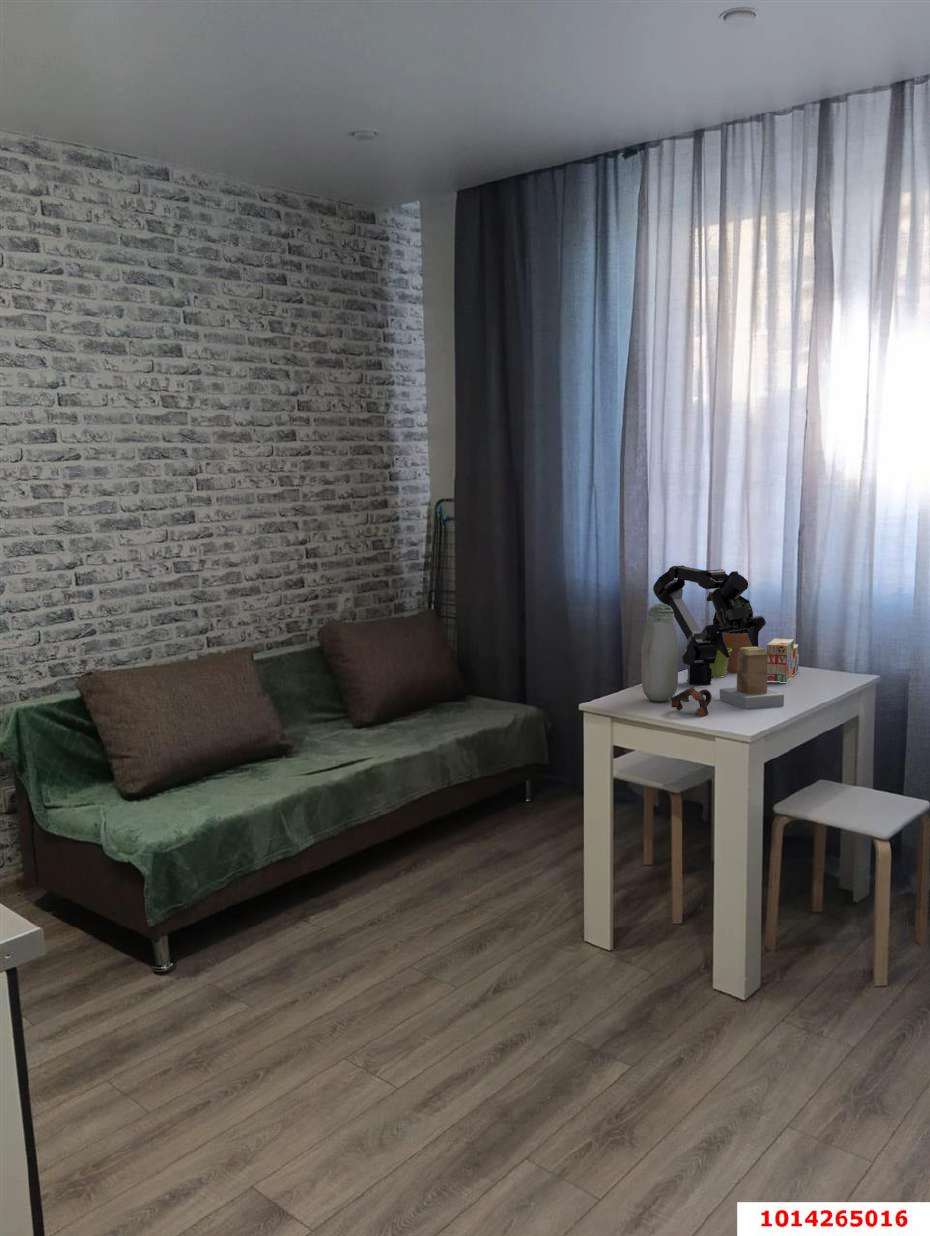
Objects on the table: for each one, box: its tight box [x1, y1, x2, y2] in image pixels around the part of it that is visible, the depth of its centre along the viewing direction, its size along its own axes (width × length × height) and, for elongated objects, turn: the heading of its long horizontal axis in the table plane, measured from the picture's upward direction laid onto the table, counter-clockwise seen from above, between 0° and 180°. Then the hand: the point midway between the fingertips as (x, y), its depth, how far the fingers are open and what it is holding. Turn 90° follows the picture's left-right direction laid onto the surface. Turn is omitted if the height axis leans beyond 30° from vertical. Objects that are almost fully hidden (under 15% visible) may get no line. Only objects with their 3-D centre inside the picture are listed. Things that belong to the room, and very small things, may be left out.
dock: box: [719, 687, 785, 710], centre depth 297 cm, size 14×12×3 cm
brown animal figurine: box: [669, 686, 712, 718], centre depth 286 cm, size 12×10×8 cm
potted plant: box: [712, 595, 754, 673], centre depth 345 cm, size 14×14×25 cm
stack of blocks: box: [766, 638, 800, 683], centre depth 333 cm, size 21×6×12 cm, turn 153°
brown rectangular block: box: [736, 646, 768, 695], centre depth 296 cm, size 6×6×12 cm
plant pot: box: [710, 648, 732, 678], centre depth 337 cm, size 9×9×9 cm
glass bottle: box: [640, 603, 680, 703], centre depth 300 cm, size 10×10×28 cm
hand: (742, 654), depth 305 cm, fingers open, 9 cm apart
